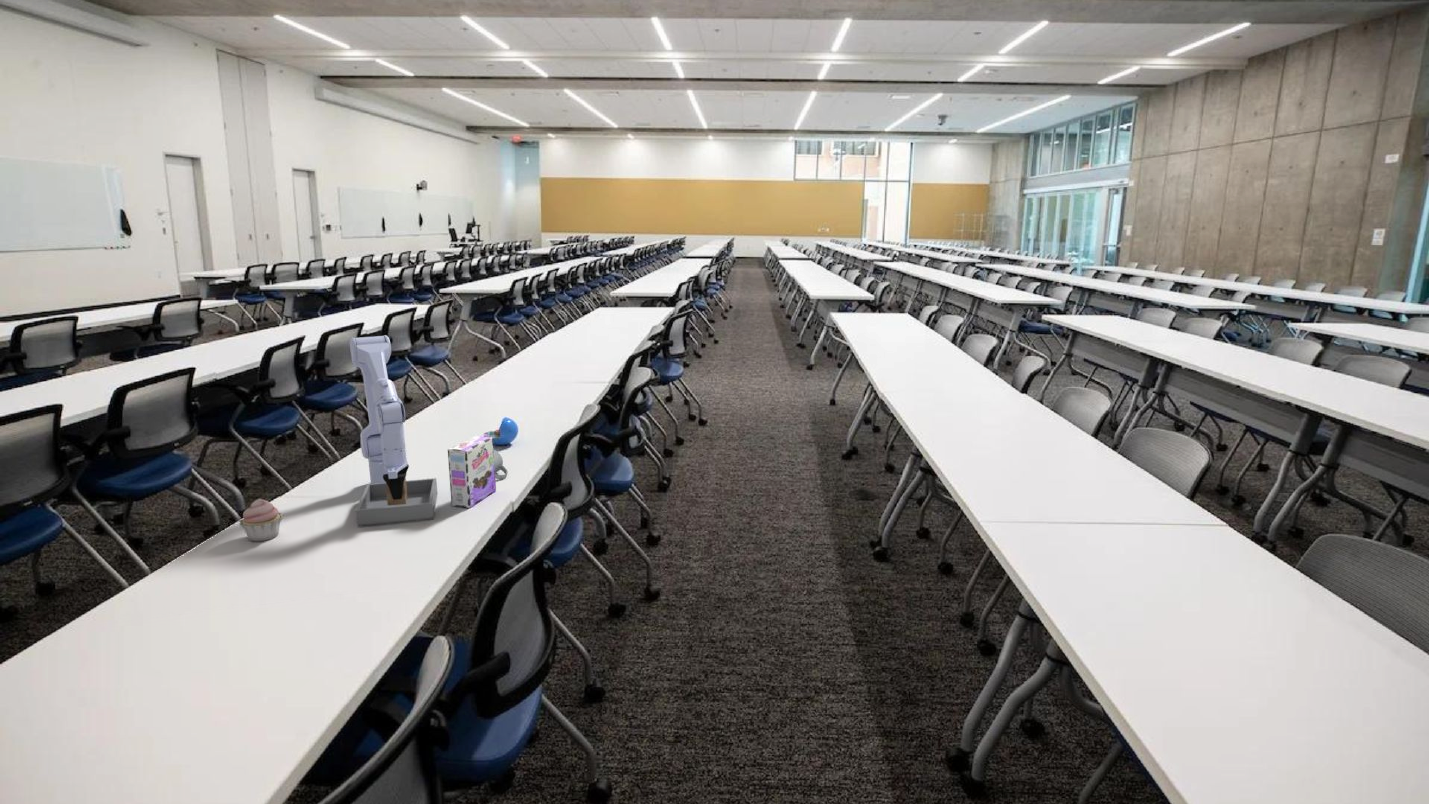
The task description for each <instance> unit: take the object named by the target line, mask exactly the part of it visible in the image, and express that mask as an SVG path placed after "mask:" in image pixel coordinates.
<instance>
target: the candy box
mask: <svg viewBox="0 0 1429 804" xmlns="http://www.w3.org/2000/svg"><path fill="white" fill-rule="evenodd" d="M493 450H494V444H493V439H492V437H484V436H479V435H474V436H473V437H471V438H469V439H467V440H465V441H462V442H461V443H458V444H456V445H454V446H452V447H450V448H447V458H448V472H449V473H448V474H449V486H450V487H449V489H450V490H449V491H450V501H451V506H453V507H459V508H467V509H470V508H473V506H474V507H475V505H477V504H478V503H480V502H481V501H483V500H484V499H486V498H488V497H490V495H492V494H493V493H496V492H497V485H496V484H497V483H496V479H495V474H496V473H495V468H494V454H493Z"/></svg>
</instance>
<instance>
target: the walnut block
mask: <svg viewBox="0 0 1429 804" xmlns="http://www.w3.org/2000/svg"><path fill="white" fill-rule="evenodd" d="M406 477H407V476H406ZM406 477H405V479H404V483H403V494H402V499H396V500H393V498H392V495H391V492H390V489H389V487H388V485H387V483H386V494H387V503H388V506H389V505H400V504H406V502H407V498H408V497H407V487H406V481H407V480H406Z"/></svg>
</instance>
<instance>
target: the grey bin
mask: <svg viewBox="0 0 1429 804" xmlns="http://www.w3.org/2000/svg"><path fill="white" fill-rule="evenodd" d="M437 483H438V482H437V478H436V477H435V478H423V479H421V478H420V479H414V480H413V479H412V480H406V487H407V497H408V498H407V502H406V504H400V505H389V506H388V503H387V494H386V483H375V484H371V483H367V484H366V486H365V488H364V491H363V492H362V493H363V494H362V496H361V498H360V500H359V502H358V505H357V507H356V509H355V514H356V515H355V516H356V524H357V528H365V527H373V526H374V527H375V526H384V525H395V524H404V523H412V522H413V523H414V522H422V521H433V520H434V519H435V510H436V504H437V501H438V500H437V499H438V484H437Z"/></svg>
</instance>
